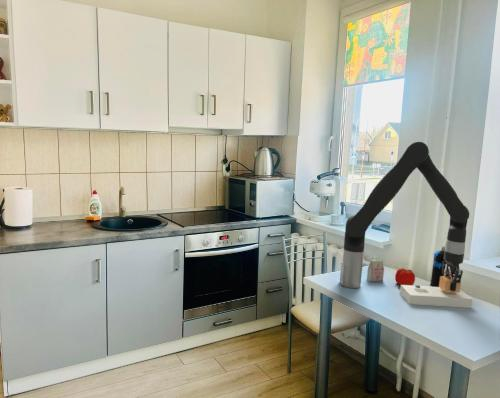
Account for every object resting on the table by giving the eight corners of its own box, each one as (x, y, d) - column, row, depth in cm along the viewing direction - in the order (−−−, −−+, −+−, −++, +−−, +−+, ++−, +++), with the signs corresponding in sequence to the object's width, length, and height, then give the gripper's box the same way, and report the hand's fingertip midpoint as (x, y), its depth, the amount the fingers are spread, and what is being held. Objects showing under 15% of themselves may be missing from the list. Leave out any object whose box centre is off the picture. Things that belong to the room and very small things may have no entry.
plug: (443, 296, 170) (446, 276, 168) (438, 291, 175) (440, 271, 174) (458, 297, 169) (461, 277, 168) (452, 292, 175) (455, 272, 174)
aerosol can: (444, 284, 194) (449, 245, 191) (451, 290, 186) (456, 249, 183) (427, 282, 195) (432, 243, 192) (433, 289, 187) (438, 248, 184)
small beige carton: (366, 279, 196) (368, 259, 194) (378, 278, 198) (380, 259, 196) (371, 281, 192) (373, 262, 191) (382, 280, 194) (384, 261, 193)
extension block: (409, 303, 167) (410, 293, 167) (399, 293, 179) (400, 283, 179) (471, 307, 167) (472, 297, 166) (457, 296, 178) (458, 287, 178)
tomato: (416, 288, 186) (418, 273, 185) (398, 287, 186) (399, 272, 185) (409, 281, 195) (411, 267, 194) (391, 280, 196) (393, 266, 194)
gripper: (438, 245, 176) (433, 281, 179) (453, 255, 162) (448, 293, 165) (455, 246, 176) (450, 282, 179) (471, 256, 162) (466, 295, 165)
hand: (449, 287), depth 172 cm, fingers closed on plug, 5 cm apart
